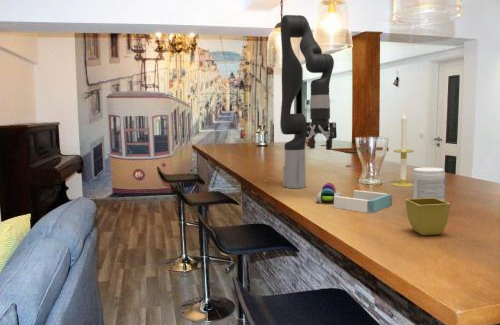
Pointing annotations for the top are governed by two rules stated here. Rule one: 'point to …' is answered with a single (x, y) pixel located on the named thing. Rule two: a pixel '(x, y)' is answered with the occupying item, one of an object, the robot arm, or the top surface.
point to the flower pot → (427, 215)
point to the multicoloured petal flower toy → (327, 193)
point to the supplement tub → (429, 183)
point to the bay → (364, 201)
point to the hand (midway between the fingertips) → (320, 149)
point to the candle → (403, 155)
